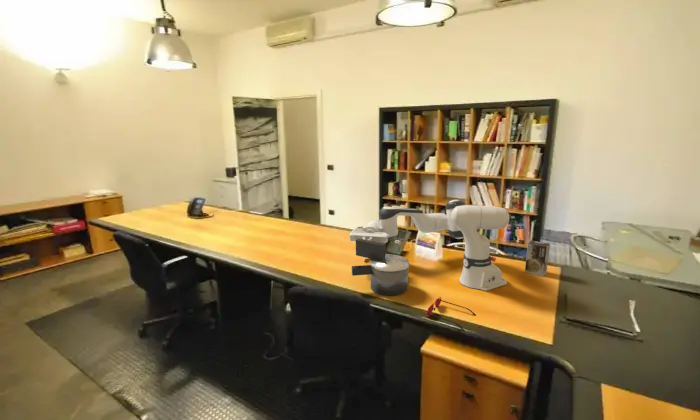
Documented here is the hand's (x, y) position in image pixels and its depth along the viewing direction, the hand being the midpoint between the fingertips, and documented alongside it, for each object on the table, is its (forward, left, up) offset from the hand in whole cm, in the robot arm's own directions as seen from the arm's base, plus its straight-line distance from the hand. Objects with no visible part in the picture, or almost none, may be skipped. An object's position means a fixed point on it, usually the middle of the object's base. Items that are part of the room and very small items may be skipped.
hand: (365, 241), depth 175 cm
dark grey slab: (-4, +11, -7) cm, 14 cm away
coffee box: (-86, +23, -19) cm, 91 cm away
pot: (-2, +14, -19) cm, 24 cm away
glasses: (-21, +47, -20) cm, 55 cm away
